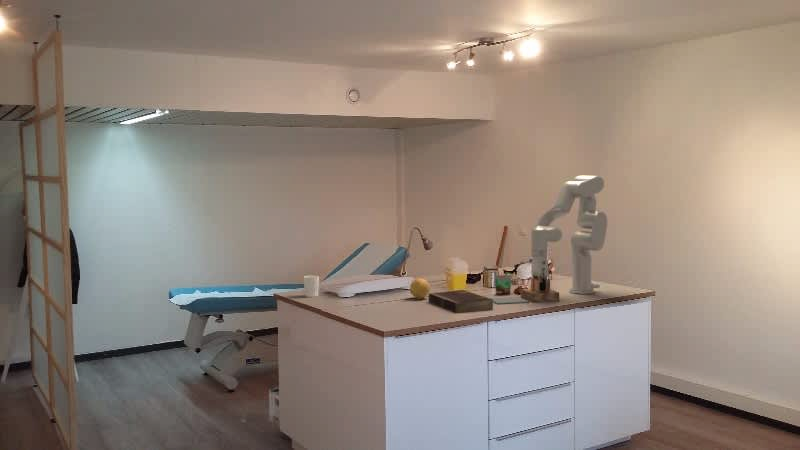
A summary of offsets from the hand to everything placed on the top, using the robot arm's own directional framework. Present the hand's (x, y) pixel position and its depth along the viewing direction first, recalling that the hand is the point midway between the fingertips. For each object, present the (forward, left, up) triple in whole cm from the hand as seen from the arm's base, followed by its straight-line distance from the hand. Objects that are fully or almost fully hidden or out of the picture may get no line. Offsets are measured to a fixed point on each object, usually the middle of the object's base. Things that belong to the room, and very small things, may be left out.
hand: (539, 288), depth 355 cm
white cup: (+107, -40, -5) cm, 114 cm away
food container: (+10, -19, -5) cm, 22 cm away
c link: (0, 0, -1) cm, 1 cm away
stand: (0, 0, -5) cm, 5 cm away
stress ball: (+56, -18, -5) cm, 59 cm away
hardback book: (+43, +5, -6) cm, 43 cm away
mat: (+17, +1, -5) cm, 18 cm away
